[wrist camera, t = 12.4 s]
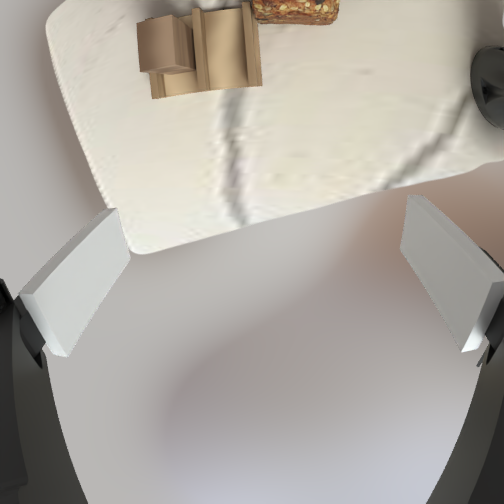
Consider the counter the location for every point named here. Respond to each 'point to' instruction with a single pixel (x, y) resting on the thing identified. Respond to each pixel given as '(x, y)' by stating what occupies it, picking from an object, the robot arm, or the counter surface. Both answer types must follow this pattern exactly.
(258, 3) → the bread
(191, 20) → the divided tray
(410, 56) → the counter surface
